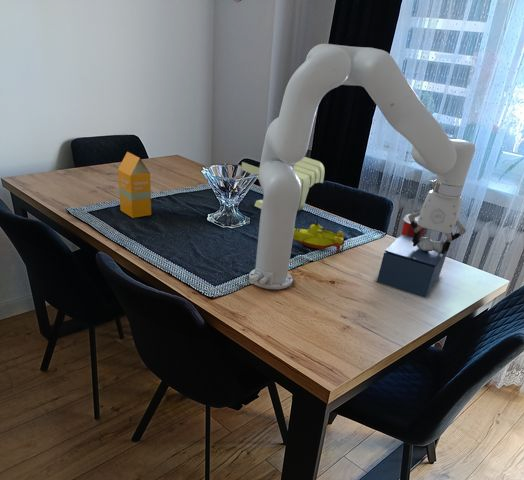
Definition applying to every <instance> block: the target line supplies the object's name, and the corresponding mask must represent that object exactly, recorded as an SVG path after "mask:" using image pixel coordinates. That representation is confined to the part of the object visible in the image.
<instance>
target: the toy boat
mask: <svg viewBox="0 0 524 480" xmlns="http://www.w3.org/2000/svg"><path fill="white" fill-rule="evenodd" d="M313 221H314V222H313V223H312V224H311V225H310V226H309V227H308V229H305V228H300V227H299V228H298V227H296V228H295V227H294V234H293V240H294V241H295V242H298V243H300V244H302V245H304V246H306V247H308V248H313V249H318V250H319V249H320V250H326V249H328V248H329V249H330V248H331V247H332V248H333V247H335V248H336V252H339V253H340V249H341V250H344V247H345V245H344V244H345V243H346V241H344V239H345V237H344V233H343V230H339V231H338V232H337V231H336V230H334V229H333V228H332V227H330V226H329V225H327V224H326V223H325V222H324V221H322V220H321V219H319V218H317V219H314V220H313ZM319 221H320V222H321V223H323V224H324V225H325V226H327V227H328V228H329V229H331V230H332V231H331V230H328V229H324V228H323V226H321V225H320V224H319Z"/></svg>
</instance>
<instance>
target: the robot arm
mask: <svg viewBox="0 0 524 480" xmlns="http://www.w3.org/2000/svg"><path fill="white" fill-rule="evenodd" d="M343 85H344V86H358V87H362V88H364V89H365V91H366V93H368V95H369V96H370V98H371V99H372V101H373V103H374V104H375V105H376V106H377V108H378V109H379V111H380V112H381V114H382V115H383V117H384V119H385V120H386V121H387V123H388V124H389V125H390V126H391V127H392V128H393V129H394V131H396V132H398V133H399V134H400V135H401V136H402V137H404V138H405V139H406V140H407V141H408V142H409V143H410V145H412V147H411V157H412V159H413V161H414V162H415V163H416V164H418V165H419V166H420V167H422V168H423V169H425V170H427V171H428V172H430V173H431V174H433V175H436V177H435V179H434V180H430V181H429V182H428V186H430V187H431V188H432V189H430V190H429V191H428V193H427V195H426V197H425V199H424V202H423V205H422V207H421V209H420V210H418V211H415V212H413V213H409V214H410V215H409V216H408V218H409V220H410V223H411V226H412V228H413V229H414V232H415V233H414V237H413V240H412V242H414V244H413V246H416V245H417V242H418V240H419V238H420V235H421V229H422V228H425V229H426V230H431V231H434V232H437V233H442V234H445V237H446V239H445V240H444V246H443V249H442V252H441V254H443V255H444V253H445V252H446V251H447V253H448V252H449V249H450V247H451V245H452V242H453V241H455V240H457V239H459V238H460V237H461V236H462V235H464V234H466V232H467V231H468V229H467V227H466V226H465V225H464V224H463V222H462V221H461V220H460V219H459V217H460V213H461V210H462V209H461V208H462V202H463V196H462V193H463V189H464V185H465V183H466V180H467V177H468V174H469V170H470V167H471V164H472V161H473V158H474V155H475V152H476V146H475V144H474V143H473V142H471V141H468V140H463V139H450V138H449V136H448V134H447V133H446V131H445V130H444V128H443V127H442V125H441V124H440V122H439V121H438V120H437V119H436V118H435V116H433V114H432V113H431V112H430V111H429V109H428V108H427V107H426V106H425V104H424V103H423V101H422V100H421V99H420V98H419V96H418V95H417V93H416V92H415V91H414V88H413V87H412V85H410V83H409V81H408V79H407V77H406V76H405V74H404V73H403V71H402V70H401V68H400V67H399V65H398V63H397V62H396V61H395V59H394V57H393V56H392V55H391V54H390V53H389V52H388V51H385V50H383V49H379V48H374V47H369V46H368V47H366V46H365V47H363V46H349V45H340V44H333V43H319V44H317V45H315V46H314V47H312V48H311V49H310V50H309V52H308V53H307V55H306V58H305V61H304V62H303V63H302V64H300V66H299V67H297V69H296V70H295V71H294V73H293V74H292V75H291V77H290V79H289V80H288V83H287V85H286V87H285V90H284V93H283V98H282V102H281V105H280V110H279V113H278V117H276V118H275V119H273V120H272V121H271V122H270V123H269V126H268V127H267V130H266V131H265V132H266V133H265V136H264V141H263V146H262V152H261V158H260V163H259V167H258V168H259V179H258V182H259V185H260V188H261V190H262V192H263V197H262V200H263V204H262V209H260V214H259V216H260V217H259V225H258V226H259V227H258V236H257V247H256V257H255V265H254V266H255V268H254V269H252V270H251V271H249V275H248V281H247V282H249V284H251V285H254V286H256V287H259V288H261V289H266V290H283V289H287V288H289V287H290V286H292V284H293V276H292V275H291V273H289V270H290V261H291V255H292V247H293V241H294V239H293V234H294V228H295V227H296V219H297V214H298V211H299V210H298V206H299V202H300V198H301V183H300V180H299V178H298V176H297V175H296V173H295V172H294V166H295V163H297V162H299V161H300V160H302V159H303V157H306V154H307V152H308V149H309V145H310V139H311V136H312V131H313V127H314V123H315V118H316V114H317V111H318V109H319V105H320V103H321V101H322V99H323V98H324V97H325V96H326V94H327V93H329V92H330V91H331V90H334V89H335V88H338V87H340V86H343ZM297 210H298V211H297ZM418 216H419V219H418V224H417V222H416V221H415V217H418ZM418 225H419V226H418ZM455 228H458V230H459V231H457V232H455V233H453V232H454V230H455Z"/></svg>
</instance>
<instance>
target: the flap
mask: <svg viewBox="0 0 524 480" xmlns="http://www.w3.org/2000/svg"><path fill="white" fill-rule="evenodd" d="M412 240H413V238H412V237H409V236H406V235H402V234H401V233H400V235H399V236H398V237H397V238H396V239H395V240H394V241H393V242H391V244H390V245H389V246H388V247H387V248H386V249H385V250H384V252H388V253H391V254H394V255H398V256H401V257H404V258H407V259H410V257H411V256H412V255H413V254H414V253H415V252H416V250H417V249H418V246H417V245H416V246H413V244H414V242H412Z"/></svg>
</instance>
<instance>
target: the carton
mask: <svg viewBox="0 0 524 480" xmlns="http://www.w3.org/2000/svg"><path fill="white" fill-rule="evenodd" d="M447 254H448V252H447V251H446V252H445V253H444V255H443V254H438V253H437V252H436V251H424V250H423V251H421V250H419V248H418V249H417V250H416V252H415V253H414V254H413V255H412V256H411V257H410V259H407V258H404V257H401V256H398V255H394V254H391V253H388V252H385V251H384V252H383V254H382V255H383V256H382V260H381V263H380V266H379V272H378V275H377V279H376V283H379V284H382V285H385V286H389V287H391V288H394V289H397V290H400V291H402V292H403V291H404V292H407V293H410V294H413V295H417V296H420V297H421V298H422V297H423V298H427V296H428V294H429V293H430V292H431V290H432V289H433V287H434V286H435V284H436V283H437V282H438V280H439V278H440V276H441V273H442V269H443V266H444V263H445V260H446V257H447Z"/></svg>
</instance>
